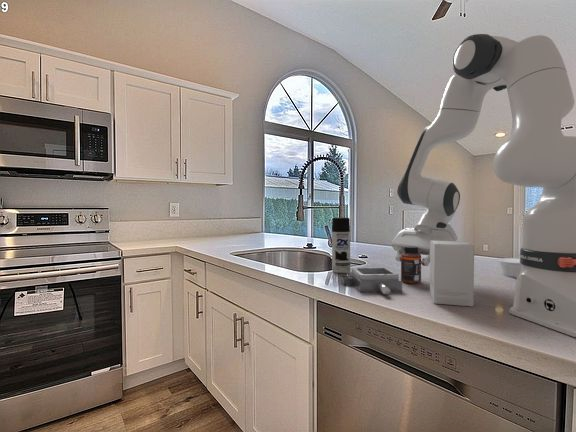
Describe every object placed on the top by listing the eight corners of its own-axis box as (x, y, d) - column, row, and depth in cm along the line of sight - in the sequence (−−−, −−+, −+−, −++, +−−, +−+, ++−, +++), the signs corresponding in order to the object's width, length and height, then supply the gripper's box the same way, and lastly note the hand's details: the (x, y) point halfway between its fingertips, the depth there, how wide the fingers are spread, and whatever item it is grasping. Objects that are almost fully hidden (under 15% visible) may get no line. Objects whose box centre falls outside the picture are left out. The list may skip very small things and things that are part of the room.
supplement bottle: (422, 284, 98) (423, 247, 98) (402, 284, 99) (402, 247, 99) (419, 280, 104) (419, 245, 104) (399, 279, 105) (399, 245, 105)
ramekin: (495, 276, 110) (495, 260, 110) (503, 271, 117) (503, 256, 117) (536, 281, 102) (536, 264, 101) (542, 275, 109) (542, 260, 109)
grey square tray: (409, 296, 86) (409, 279, 85) (353, 297, 85) (353, 280, 85) (385, 280, 105) (385, 266, 104) (340, 280, 104) (340, 267, 104)
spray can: (333, 273, 115) (333, 218, 114) (330, 270, 122) (330, 217, 121) (352, 273, 115) (352, 217, 114) (348, 269, 122) (348, 217, 121)
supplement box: (474, 307, 76) (475, 244, 76) (433, 304, 79) (433, 243, 78) (466, 297, 85) (466, 240, 84) (429, 294, 87) (429, 239, 87)
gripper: (398, 222, 114) (379, 252, 109) (455, 225, 97) (436, 260, 92) (406, 234, 116) (388, 263, 111) (463, 238, 99) (444, 274, 94)
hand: (410, 262), depth 101 cm, fingers open, 8 cm apart
